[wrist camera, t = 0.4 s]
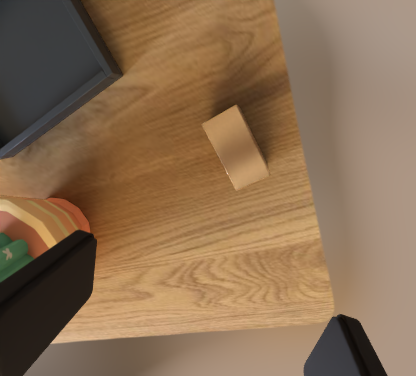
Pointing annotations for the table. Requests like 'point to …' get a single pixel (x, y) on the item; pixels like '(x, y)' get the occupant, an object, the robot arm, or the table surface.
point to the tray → (47, 67)
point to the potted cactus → (34, 229)
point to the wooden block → (236, 147)
